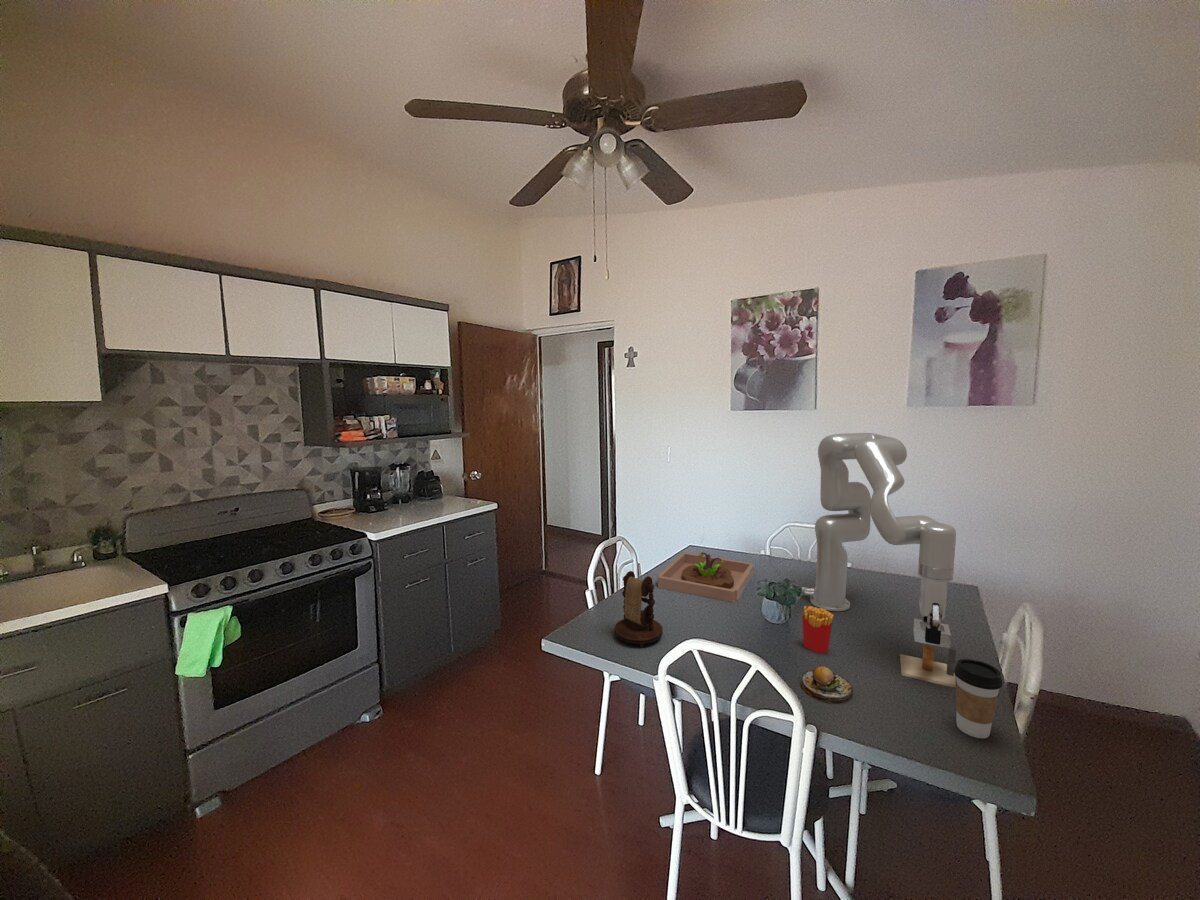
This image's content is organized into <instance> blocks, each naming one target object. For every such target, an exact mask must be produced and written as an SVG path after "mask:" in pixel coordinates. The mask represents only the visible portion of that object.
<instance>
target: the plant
mask: <svg viewBox="0 0 1200 900" xmlns="http://www.w3.org/2000/svg"><path fill="white" fill-rule="evenodd" d="M698 555H699V557H702V556H703V555H704V556H706V561H705V562H704V564H703V563H702V562H700V564H695V565H692V566H688V567H687V568H685V569H684V570H683V571H682V580H684V581H690V582H695V583H700V584H706V585H711V586H716V587H722V588H732V587H733V586H734V579H733V577H732V575H731V571H729V570H728V569H726V568H724V567H719V566H720V564H717V565H715V566H713V562H714V561H715V560H716V559H719V560H720V563H721V564H722V563H723V560H722V559H720V558H721V557H716V558H714V559H713V560H712V561H710V557H712V556H711V554H709V553H708V554H707V553H706V552H702V551H701V552H700V553H698Z"/></svg>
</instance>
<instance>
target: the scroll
mask: <svg viewBox="0 0 1200 900" xmlns="http://www.w3.org/2000/svg"><path fill="white" fill-rule="evenodd" d="M622 581H623V590H622V592H621V593H622V596H623V598H624V600H623V605H622V609H623V619H621V620H619V621H617V623H615V625H614V634H615V637H616V638H618V639H619V640H621V641H622V642H626V643H628V644H633V645H634V644H635V645H639V646H640V648H644V645H645V644H650V643H654V642H656V641H658V640H660V639H661V637H662V636H663V633H664V631H663V626H662V624H661V623H660V622H659V621H657V620H656V619H654V618H655V614H654V612H655V611H654V605H655V604H656V601H655V599H654V589H655V585H654V583H653V578H652V577H651V576H648V575H647V576H645V578H644V579H641V578H637V577H636V574H635V572H634V571H633V570H629V571H628V572H627V573H626V574H625V575H624V576H623V577H622ZM642 602H643V603H644V604H647V605H646V606H645V607H644V609H642Z"/></svg>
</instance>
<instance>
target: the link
mask: <svg viewBox="0 0 1200 900" xmlns="http://www.w3.org/2000/svg"><path fill="white" fill-rule="evenodd" d="M926 627H927V621H924V620H923V619H920V618H913V628H912V629H913V638H914V642H916V643H921V644H924V645H931V646H935V647H942V648H946V649H949V648H950V647H952V646H951V645H952V634H951V630H950V625H949V624H947V623H942V622H941V640H940V645H937V644H932V643H927V642H925V633H926Z"/></svg>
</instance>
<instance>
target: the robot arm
mask: <svg viewBox="0 0 1200 900" xmlns="http://www.w3.org/2000/svg"><path fill="white" fill-rule="evenodd" d="M817 447H818V449H817V457H818V461H819V467H820V505H821V507H822V509H824V510H826V511H828V512H829V511H830V512H845V511H846V512H847V511H848V513H836V514H834V513H833V514H827V515H822V516H821V517H819V518H818V519H816V522H815V523H814V532H815V538H816V570H815V571H816V573H815V586H814V587H807V586H801V593H804V595H805V596H810V598H809V601H810V603H811V604H812V605H813V606H814V607H817V608H819V609H820V608H823V609H826V611H829V612H830V611H831V612H844V611H848V610H849V609H850V608H851V602H850V600H848V599H847V598H846V596H847V595H846V593H847V592H846V591H847V577H848V574H847V573H848V554H847V551H846V549H845V548H844V546H843V545H842V544H844V543H850V542H851V543H852V542H860V541H864V540H866V539H867V538H868V537H869V535H870V532H871V521H873V522H872V523H874V526H875V527H876V530H877V531H878V534H880V536H881V538H882V539H883V540H884V541H885V542H886V543H888V544H890V545H893V546H903V545H904V546H905V545H908V546H909V545H919V550H918V553H919V554H918V566H917V567H918V568H917V575H918V576H919V577H920V578H921V579H920V590H919V602H918V603H919V604H918V606H919V610H920V614H921V616H922V617H923V619H922V620H924V621H927V627H926V633H925V642H927V643H932V644H937V645H940V640H941V623H942V621H941V620H944V619H945V615H946V608H947V596H948V595H947V592H948V583H949V582H952V581H954V573H955V572H954V568H955V557H956V554H955V553H956V540H957V531H956V529H955V527H953V526H952V525H950V524H947V523H943V522H942V523H941V522H939V521H938V520H935V519H934V518H932V517H930V516H928V515H921V514H920V515H906V516H905V515H904V516H895V514H894V513H893V511H892V509H891V507H890V504H889V499H888V498H889V496H890V495H892V494H894V493H896V492H898V491H899V490H900V489H901V488H902V487H903V486H904V484H905V478H904V476H903V474H902V473H901V471H900V470H899V467H897V466H899V465H900V466H901V465H902V464H904V462H905V461H906V459H907V457H908V455H907V454H908V453H907V452H908V451H907V448H906V446H905V444H904V443H903V442H902V441H901V440H899V439H898V438H896V437H891V436H887V435H883V434H882V435H881V434H878V433H874V432H855V433H854V432H853V433H852V432H851V433H850V432H847V433H834V434H831V435H828V436H825V437H824V438H822V439H821V441H820V442H819V445H818V446H817ZM845 460H856V461H857V463H858V464H859V467H860V468H861V471H862V472H863V474H864V476H865V478H866V479H867V481H868V483H869V486H871V489H872V491H873V493H872V496H871V492H870V490H869V488H868V487H867V485H865V484H864V483H862V482H859V481H849V476H850V475H849V473H850V472H849V469H848V466H847V465H846V463H845ZM871 519H872V520H871Z"/></svg>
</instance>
